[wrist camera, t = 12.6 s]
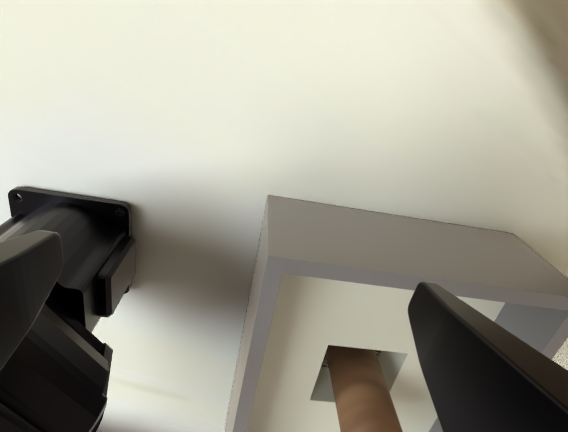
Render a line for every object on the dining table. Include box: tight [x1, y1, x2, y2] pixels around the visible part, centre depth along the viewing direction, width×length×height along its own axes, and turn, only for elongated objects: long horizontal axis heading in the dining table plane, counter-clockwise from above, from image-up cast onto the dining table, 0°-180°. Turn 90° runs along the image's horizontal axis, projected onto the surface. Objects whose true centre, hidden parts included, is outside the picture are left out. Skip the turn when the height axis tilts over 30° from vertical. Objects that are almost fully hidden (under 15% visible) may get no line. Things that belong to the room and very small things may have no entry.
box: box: [225, 195, 568, 432], centre depth 24 cm, size 16×22×6 cm
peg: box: [326, 345, 403, 432], centre depth 22 cm, size 4×4×10 cm
